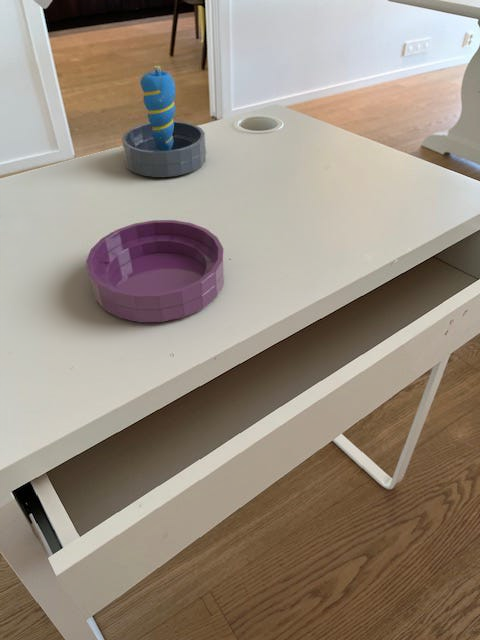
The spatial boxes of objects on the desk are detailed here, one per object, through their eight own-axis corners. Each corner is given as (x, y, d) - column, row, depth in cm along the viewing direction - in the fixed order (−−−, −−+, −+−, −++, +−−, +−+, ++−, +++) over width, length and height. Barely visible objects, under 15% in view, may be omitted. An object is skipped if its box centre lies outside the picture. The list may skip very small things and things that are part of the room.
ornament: (144, 161, 85) (130, 63, 75) (164, 150, 88) (153, 55, 78) (167, 168, 82) (156, 68, 73) (188, 157, 86) (180, 60, 76)
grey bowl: (112, 174, 82) (107, 146, 79) (147, 143, 92) (144, 117, 89) (188, 184, 79) (185, 156, 76) (217, 151, 89) (215, 125, 86)
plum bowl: (68, 310, 57) (59, 281, 54) (131, 239, 67) (126, 212, 65) (196, 337, 53) (193, 308, 50) (240, 258, 64) (240, 230, 61)
